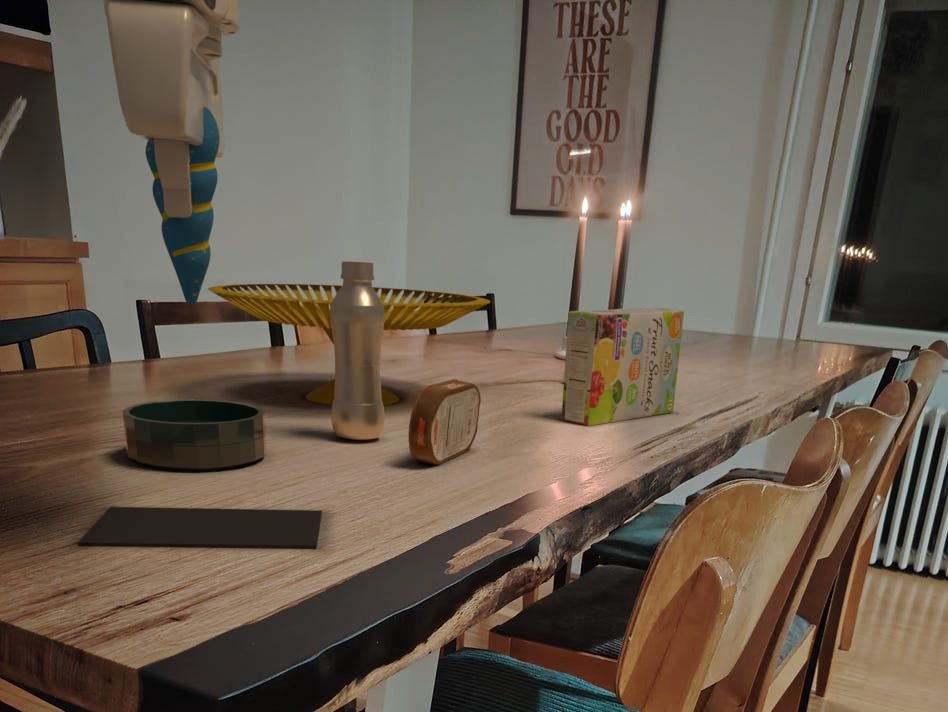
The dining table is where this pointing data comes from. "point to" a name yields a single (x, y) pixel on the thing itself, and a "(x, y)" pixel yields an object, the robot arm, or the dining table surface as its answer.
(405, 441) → the dining table surface
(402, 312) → the cake stand
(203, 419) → the bowl
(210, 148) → the ornament
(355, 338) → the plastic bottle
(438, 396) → the tin
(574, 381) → the snack box
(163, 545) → the mat
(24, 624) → the dining table surface
